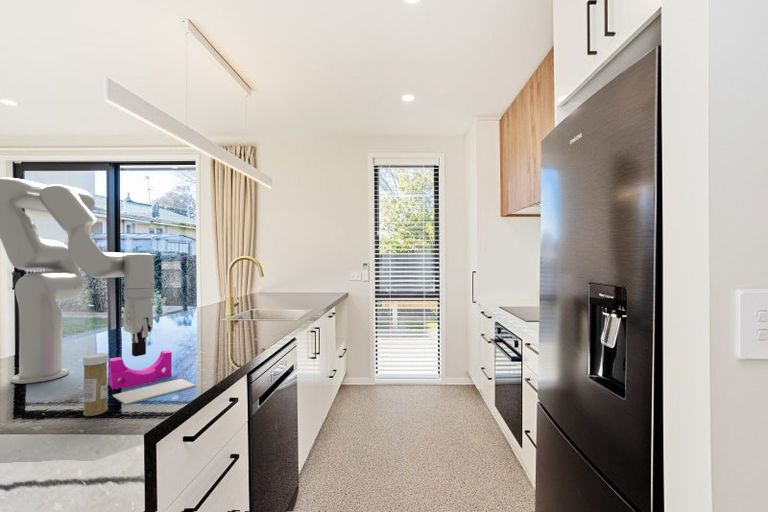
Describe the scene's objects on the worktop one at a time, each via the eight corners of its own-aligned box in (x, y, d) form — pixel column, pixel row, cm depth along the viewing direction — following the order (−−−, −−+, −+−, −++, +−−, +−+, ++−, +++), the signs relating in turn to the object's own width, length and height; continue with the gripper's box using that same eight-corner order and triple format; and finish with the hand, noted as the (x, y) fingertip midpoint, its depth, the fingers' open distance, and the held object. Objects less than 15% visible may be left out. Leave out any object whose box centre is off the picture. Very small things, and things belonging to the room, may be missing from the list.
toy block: (112, 390, 102) (112, 363, 102) (108, 385, 107) (109, 358, 107) (173, 378, 112) (173, 353, 112) (168, 374, 117) (168, 350, 117)
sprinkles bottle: (111, 411, 88) (112, 353, 88) (88, 418, 84) (89, 358, 84) (101, 407, 90) (101, 351, 90) (78, 414, 86) (79, 355, 86)
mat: (112, 396, 97) (112, 394, 97) (181, 379, 111) (181, 378, 111) (125, 404, 92) (125, 403, 92) (195, 386, 105) (195, 384, 105)
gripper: (115, 293, 114) (115, 353, 114) (134, 296, 105) (134, 362, 105) (143, 291, 120) (143, 349, 120) (163, 294, 111) (163, 356, 111)
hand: (138, 355), depth 113 cm, fingers closed
